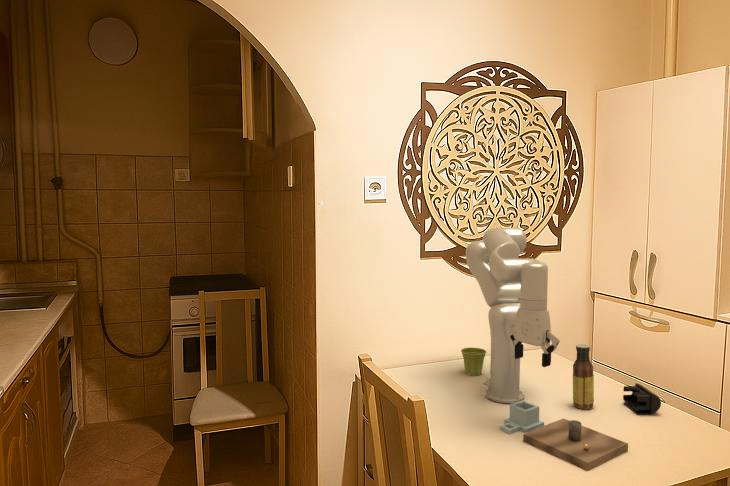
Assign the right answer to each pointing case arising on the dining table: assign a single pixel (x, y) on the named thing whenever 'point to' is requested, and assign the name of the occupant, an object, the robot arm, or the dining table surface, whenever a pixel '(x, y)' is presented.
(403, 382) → the dining table surface
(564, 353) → the dining table surface
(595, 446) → the post board
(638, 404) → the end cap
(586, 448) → the brass dowel
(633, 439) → the dining table surface
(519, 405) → the grey bracket housing
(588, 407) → the sauce bottle
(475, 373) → the plant pot
